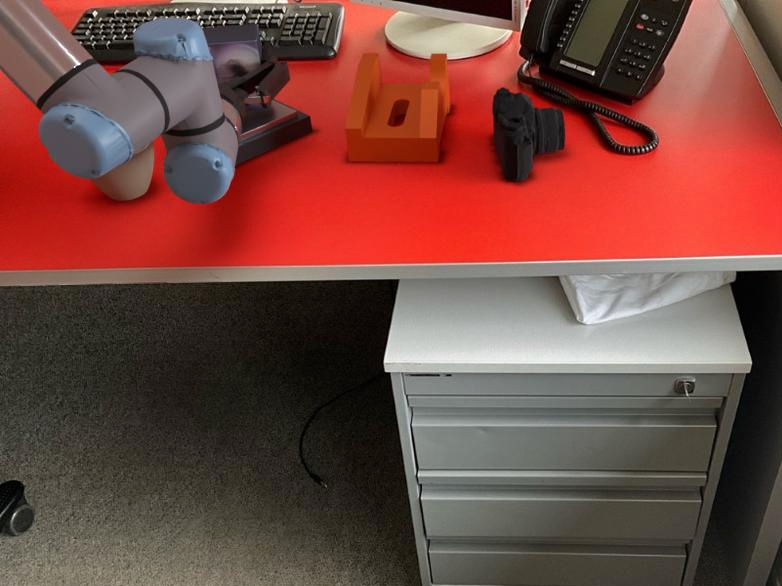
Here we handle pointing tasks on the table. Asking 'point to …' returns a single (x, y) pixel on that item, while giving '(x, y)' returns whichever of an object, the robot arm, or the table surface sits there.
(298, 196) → the table surface
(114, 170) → the flower pot
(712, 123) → the table surface
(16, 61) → the robot arm
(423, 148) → the orange slotted bracket
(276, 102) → the scale
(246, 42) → the small box
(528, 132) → the film camera
